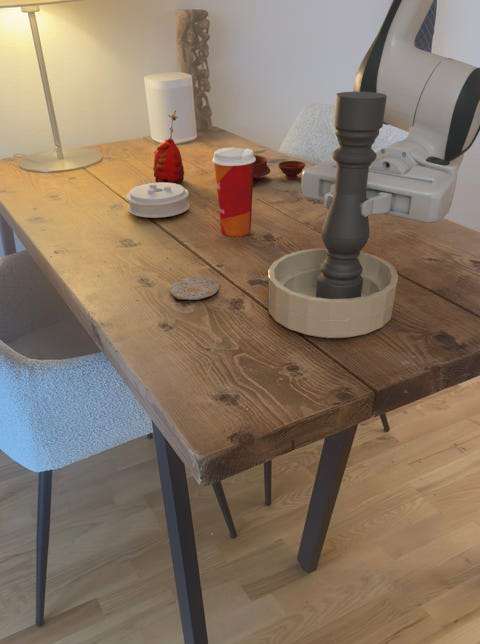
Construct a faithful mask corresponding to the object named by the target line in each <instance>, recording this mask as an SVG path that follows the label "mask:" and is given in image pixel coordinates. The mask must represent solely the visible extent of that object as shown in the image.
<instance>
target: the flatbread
mask: <svg viewBox="0 0 480 644" xmlns="http://www.w3.org/2000/svg"><path fill="white" fill-rule="evenodd" d="M219 290H220V284H219V282H218V280H217V279H214V278H211V277H205V276H198V275H196V276H190V277H185V278H181V279H178V280H175V281H174V282H173V283H172V285H171V286H170V288H169V292H170V294H171V296H173V297H174V298H175V299H177V300H181V301H182V300H183V301H184V300H186V301H198V300H204V299H207V298H209V297H212V296H214V295H216V293H217V292H218V291H219Z"/></svg>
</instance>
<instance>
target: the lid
mask: <svg viewBox="0 0 480 644" xmlns="http://www.w3.org/2000/svg"><path fill="white" fill-rule="evenodd" d="M189 195H190V194H189V190H187V188H185V187H184V186H183V185H181V184H179V183H177V184H174V183H164V182H160V183H157V182H149V183H143V184H140V185H137V186H134V187H133V188H131V189H130V191H129V192H127V194H126V195H125V196H126V200H127V201H128V206H127V210H128V213H130V214H132V215H134V216H136V217H141V218H150V219H151V218H153V219H155V218H156V219H157V218H159V219H160V218H167V217H174V216H177V215H180V214H182V213H185V212H186V211H188V210H189V209H190V206H191V205H190V202H189Z"/></svg>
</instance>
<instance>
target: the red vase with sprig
mask: <svg viewBox="0 0 480 644" xmlns="http://www.w3.org/2000/svg"><path fill="white" fill-rule="evenodd" d="M176 113H177V110H174V111H173V114H171V115H170V114H168V115H167V116H168V117H170V118H171V125H170V126H171V127H169V130H170V137H169V138H168V139H164V141H162V142H161V143H160V144H158V145H157V147H156V150H155V151H153V155H154V158H153V167H152V169H153V170H152V171H153V177H154V181H155V182H154V183H160V182H164V183H174V184H175V183H177V184H179V183H181V182H183V181H184V179H185V177H184V176H185V168H184V165H183V160H182V159H183V158H182V155H181V152H180V149H179V147H178V146H177V145H176V143H175V140H174V139H173V138H172V136H173V135H172V134H173V132H174V129H173V124H174V121H176V120H177V119H178V118H179V116H176Z"/></svg>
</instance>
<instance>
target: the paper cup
mask: <svg viewBox="0 0 480 644" xmlns="http://www.w3.org/2000/svg"><path fill="white" fill-rule="evenodd" d="M254 155H255V154H254V151H253V150H252V149H251V148H245V147H236V146H233V147H223V148H218V149H217V150H215V151H214V153H213V158H212V160H211V161H212V163H213V165H214V174H215V175H214V177H215V184H216V185H215V186H216V196H217V206H218V216H219V224H220V232H221V234H222V235H224V236H227V237H243V236H246V235H249V234H250V232H251V229H252V228H251V226H252V210H253V191H254V190H253V189H254V183H253V169H254V161H255V160H256V159H255V157H254Z"/></svg>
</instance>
